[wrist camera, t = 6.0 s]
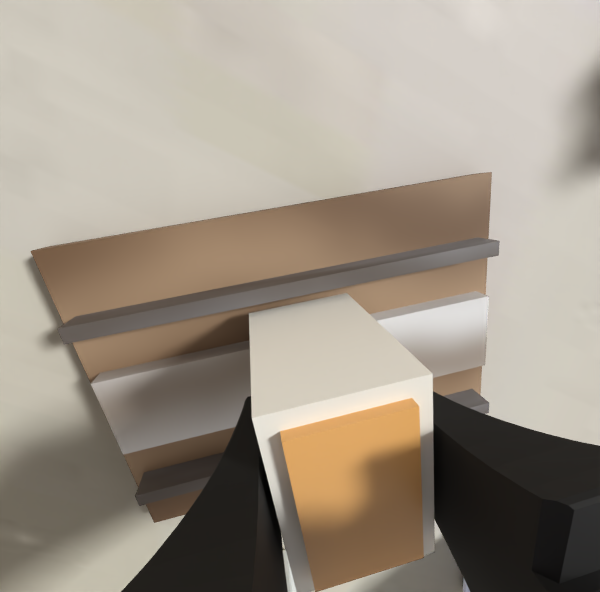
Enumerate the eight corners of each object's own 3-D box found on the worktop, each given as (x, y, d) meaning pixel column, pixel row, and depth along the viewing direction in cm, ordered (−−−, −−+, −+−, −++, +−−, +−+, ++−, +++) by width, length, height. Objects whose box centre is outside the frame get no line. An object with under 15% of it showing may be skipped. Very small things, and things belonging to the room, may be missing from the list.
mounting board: (466, 421, 18) (494, 450, 16) (159, 503, 16) (147, 548, 14) (474, 173, 14) (515, 169, 12) (47, 246, 12) (5, 257, 10)
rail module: (359, 412, 14) (440, 564, 8) (276, 433, 14) (299, 609, 8) (346, 293, 12) (440, 381, 6) (248, 313, 12) (252, 429, 6)
